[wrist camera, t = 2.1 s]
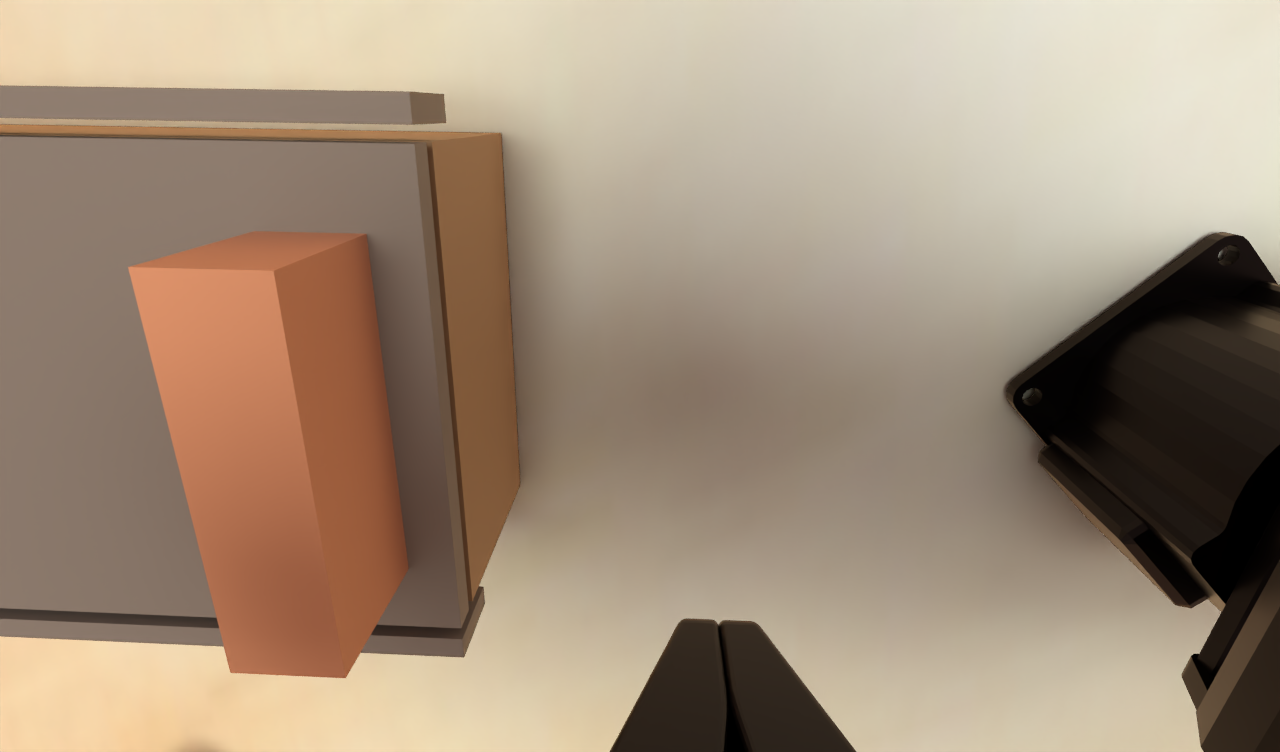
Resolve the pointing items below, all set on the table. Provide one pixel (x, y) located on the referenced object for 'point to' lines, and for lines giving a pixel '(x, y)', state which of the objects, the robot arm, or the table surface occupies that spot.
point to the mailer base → (468, 301)
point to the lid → (227, 383)
